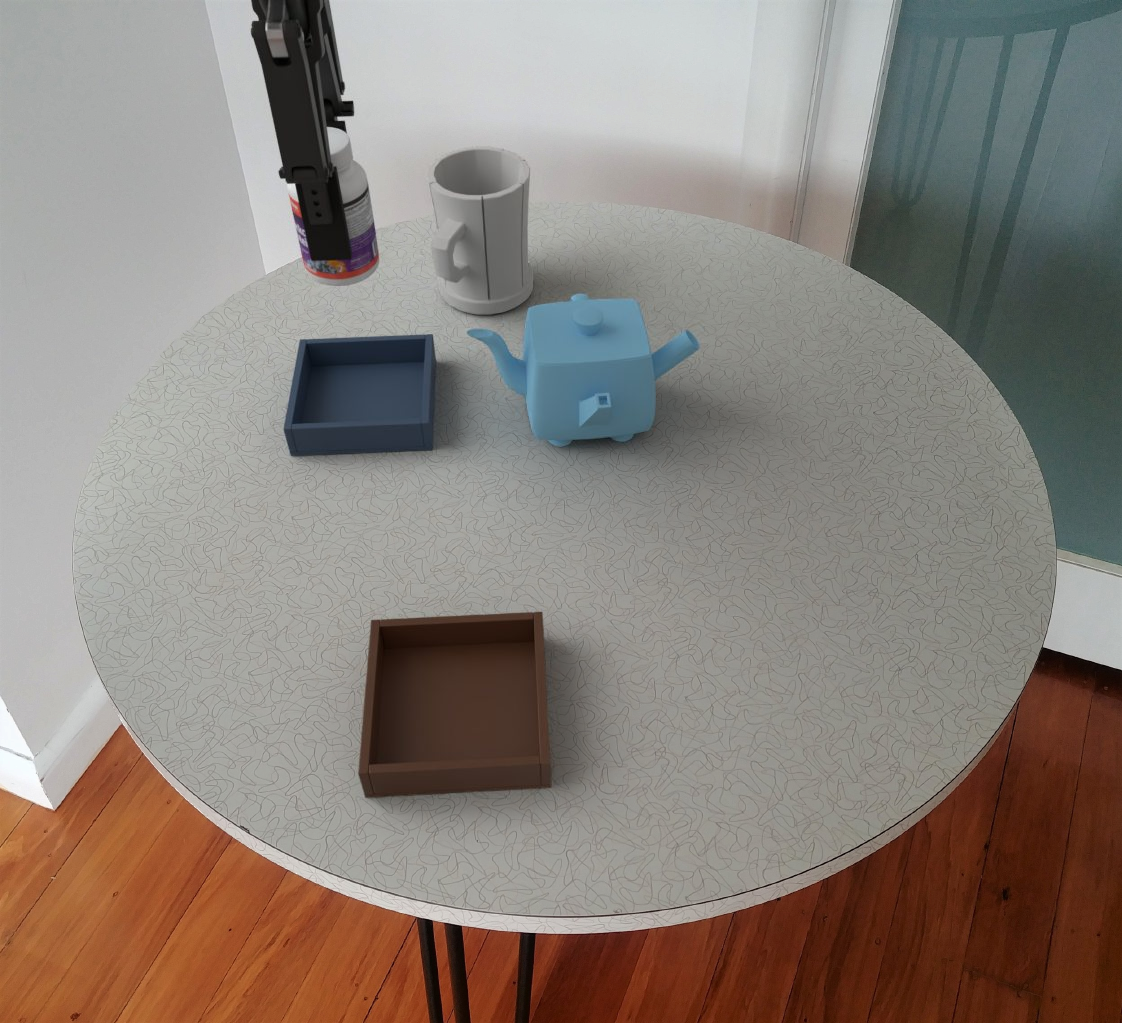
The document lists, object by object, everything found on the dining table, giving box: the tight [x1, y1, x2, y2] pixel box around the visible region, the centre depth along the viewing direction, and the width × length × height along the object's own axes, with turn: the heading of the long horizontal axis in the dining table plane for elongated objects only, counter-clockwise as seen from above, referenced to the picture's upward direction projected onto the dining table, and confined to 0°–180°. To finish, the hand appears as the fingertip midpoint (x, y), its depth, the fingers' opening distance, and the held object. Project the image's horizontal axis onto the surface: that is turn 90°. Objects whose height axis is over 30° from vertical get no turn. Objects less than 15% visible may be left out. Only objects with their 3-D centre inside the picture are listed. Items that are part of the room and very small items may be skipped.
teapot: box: [466, 293, 701, 448], centre depth 83 cm, size 18×14×10 cm
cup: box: [425, 145, 534, 316], centre depth 94 cm, size 10×9×12 cm
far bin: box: [283, 333, 437, 457], centre depth 87 cm, size 11×11×3 cm
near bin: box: [357, 611, 552, 799], centre depth 66 cm, size 11×11×3 cm
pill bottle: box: [286, 127, 380, 287], centre depth 73 cm, size 5×5×10 cm
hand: (335, 232), depth 74 cm, fingers closed on pill bottle, 5 cm apart
